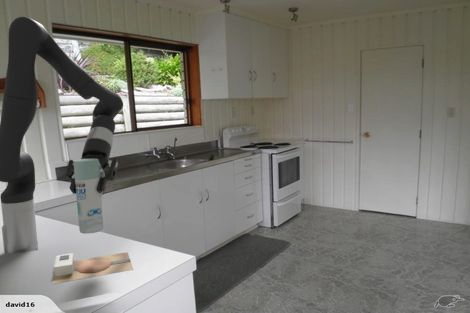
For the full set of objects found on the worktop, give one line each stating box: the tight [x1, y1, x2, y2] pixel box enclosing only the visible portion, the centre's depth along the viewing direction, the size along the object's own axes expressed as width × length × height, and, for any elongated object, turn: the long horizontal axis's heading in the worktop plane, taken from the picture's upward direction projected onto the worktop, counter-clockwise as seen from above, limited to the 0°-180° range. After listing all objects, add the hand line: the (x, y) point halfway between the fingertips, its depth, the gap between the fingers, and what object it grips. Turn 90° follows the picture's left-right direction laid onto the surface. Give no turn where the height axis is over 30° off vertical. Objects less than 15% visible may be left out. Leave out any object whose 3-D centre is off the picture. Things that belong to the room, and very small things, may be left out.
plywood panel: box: [52, 251, 134, 285], centre depth 102 cm, size 20×14×2 cm
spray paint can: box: [73, 158, 104, 235], centre depth 99 cm, size 6×6×20 cm
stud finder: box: [53, 252, 75, 277], centre depth 100 cm, size 9×4×3 cm, turn 23°
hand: (86, 191), depth 97 cm, fingers closed on spray paint can, 6 cm apart
